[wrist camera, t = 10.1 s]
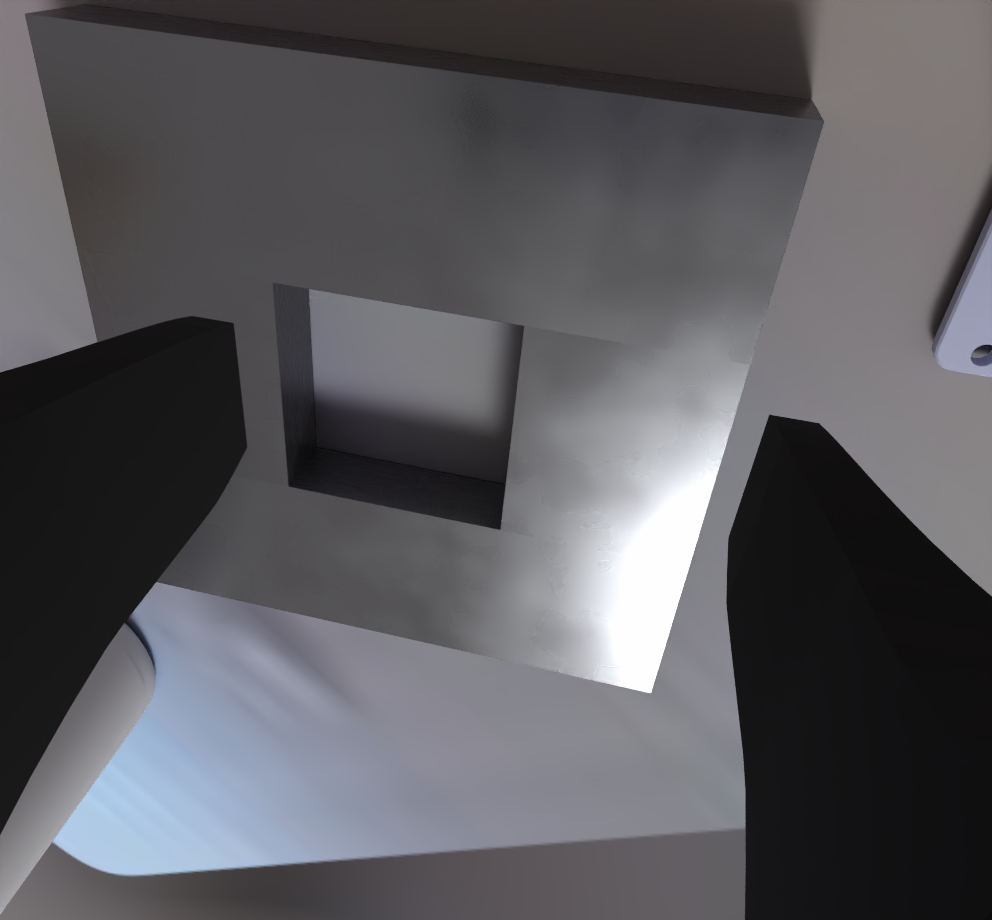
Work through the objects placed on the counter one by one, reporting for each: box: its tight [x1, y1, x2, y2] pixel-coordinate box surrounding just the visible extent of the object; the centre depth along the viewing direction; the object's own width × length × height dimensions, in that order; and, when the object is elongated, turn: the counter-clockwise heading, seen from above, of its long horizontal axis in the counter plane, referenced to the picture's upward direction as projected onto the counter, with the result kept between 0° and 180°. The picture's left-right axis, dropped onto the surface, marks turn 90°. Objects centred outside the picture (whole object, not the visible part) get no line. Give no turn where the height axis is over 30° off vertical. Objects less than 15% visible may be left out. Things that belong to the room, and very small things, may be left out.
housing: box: [25, 4, 824, 693], centre depth 21 cm, size 16×16×2 cm
